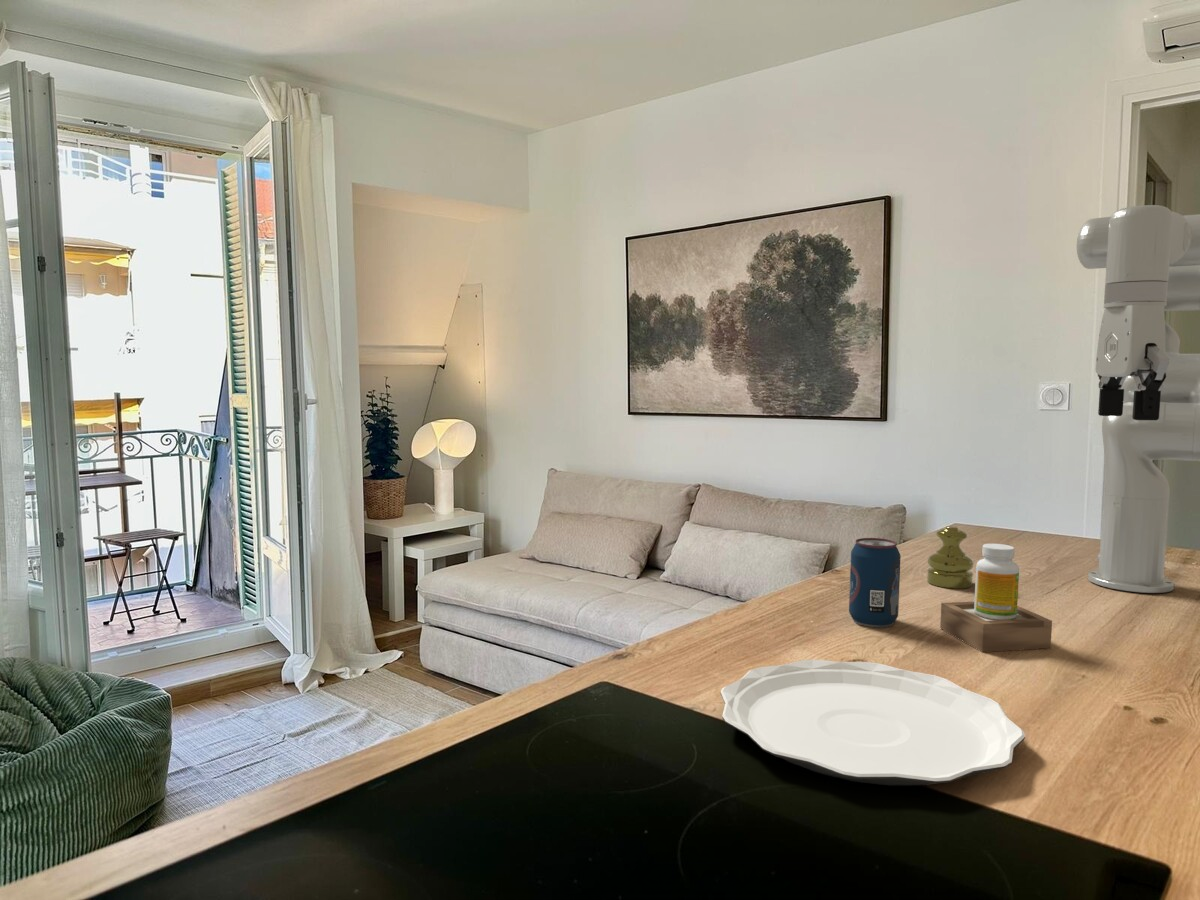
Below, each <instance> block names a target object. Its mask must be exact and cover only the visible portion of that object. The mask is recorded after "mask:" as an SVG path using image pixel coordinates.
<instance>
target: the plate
mask: <svg viewBox="0 0 1200 900" xmlns="http://www.w3.org/2000/svg"><path fill="white" fill-rule="evenodd" d="M720 696H721V698H722V700H723V702H724V707H723V712H722V715H721V717H722V720H723V721H724V723H725V724H726V725H728V726H730V727H731V728H734V729H736V730H737V731H739V732H741V733H742V734H745V735H746V736H747V737H749V738H750V739H751V741H753V742H754V743H755V745H757V746H758V747H759V748H760V749H761V750H762V751H763V752H766V753H768V754H770V755H773V756H774V757H777V758H780V759H783V760H785V761H786V762H788V763H790V764H792V765H796V766H798V767H801V768H804V769H806V770H809V771H811V772H813V773H818V774H821V775H825V776H829V777H833V778H838V779H842V780H847V781H849V782H855V783H865V784H873V785H882V786H898V787H899V786H902V787H903V786H929V785H934V784H936V785H937V784H945V783H946V784H947V783H951V782H953V781H956V780H959V779H963V778H968V777H972V776H976V775H980V774H984V773H985V774H986V773H988V772H995V771H997V770H1002V769H1005V768H1007V767H1009V766H1010V765H1012V761H1013V755H1014V750H1015V748H1016V747H1018V746H1019V744H1021V743H1022V742H1023V741H1025V739H1026V734H1025V731H1024V730H1023V729H1022V728H1021V727H1020V726H1018V725H1017V724H1016V723H1015V722H1013V720H1011V719H1010V718H1008V716H1007V714H1006V713H1005V711H1004V709H1003V707H1002V706H1001V704H1000V703H998V702H996V701H995V700H993V699H992V698H990V697H988V696H984V695H982V694H979V693H976V692H973V691H971V690H969V689H966V688H963V687H962V686H960V685H958V684H957V683H954V682H952V681H951V680H949V679H947V678H945V677H941V676H938V675H935V674H929V673H925V672H919V671H917V672H916V671H912V670H906V669H901V668H897V667H895V666H890V665H887V664H884V663H883V664H882V663H879V662H872V661H871V662H870V661H835V660H834V661H833V660H823V659H822V660H821V659H802V660H798V661H793V662H790V663H789V662H788V663H785V664H781V665H770V666H759V667H756V668H753V669H750V670H748V671H747V673H745V674H744V675H743V676H742V677H741V678H740V679H738V680H736V681H734V682H732V683H730V684H727V685H725V686H724V687H723V686H722V688H721V690H720Z"/></svg>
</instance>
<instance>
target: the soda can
mask: <svg viewBox="0 0 1200 900" xmlns="http://www.w3.org/2000/svg"><path fill="white" fill-rule="evenodd" d="M901 558H902V557H901V553H900V551H899V549H898V545H897V542H896V541H894V540H890V539H886V538H880V537H877V538H876V537H863V538H861V537H860V538H858V539H857V538H856V539H855V544H854V546H853V547H852V549H851V551H850V571H849V572H850V574H849V597H848V599H849V601H848V613H849V614H850V617H851V618H852V620H853V622H854V623H856V624H858V625H860V626H863V625H864V627H868V626H871V627H870V628H888V626H889V627H891V626H893V625H894V623H895V622H896V620H897V619H898V618H899V610H900V609H899V606H900V605H899V604H900V581H901V579H900V578H901ZM892 624H893V625H892Z"/></svg>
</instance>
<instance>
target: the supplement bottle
mask: <svg viewBox="0 0 1200 900" xmlns="http://www.w3.org/2000/svg"><path fill="white" fill-rule="evenodd" d="M1015 551H1016V550H1015V547H1014V546H1012V545H1008V544H1002V543H984V544H983V545H982V551H981V553H982V556H983V558H982V559H980V560H978V561H977V562H976V567H975V581H974V582H975V583H974V584H975V586H974V599H973V600H974V601H973V602H974V612H975V613H976V614H977V615H979V616H982V617H985V618H988V619H994V620H1011V619H1014V618H1016V616H1017V606H1018V599H1019V581H1020V578H1019V577H1020V568H1019V565H1018V564H1017V563H1016V562H1014V561H1013V559H1015Z"/></svg>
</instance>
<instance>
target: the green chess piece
mask: <svg viewBox="0 0 1200 900" xmlns="http://www.w3.org/2000/svg"><path fill="white" fill-rule="evenodd" d="M935 534H936V536H937V537H938V538H939V539H940V540H941V542H942V546H941V547H940V548H939V549H937V550H936V551H935V552H934V553H932V554H930V555H929V556H928V557H927V563H928V566H929V568H927V569H926V571H927V577H926V581H927V582H928V583H929V584H931V585H933V586H935V587H939V588H944V589H946V588H947V589H954V588H958V589H959V588H961V589H967V588H970V587H972V586H973V577H974V576H973V575H974V573H973V572H972V571H971V570H972V569H973V568H974V564H975V562H974V560H973V558H972V557H970V556H969V555H966V554H967V553H966V552H965V551H964V550H963V549H962V548H961V547H960V544H961V542H962V541H964V540H965V539H967V538H968V533H967V532H965V531H964V530H962V529H959V528H958V527H957V526H955V525H954V526H951V525H949V526H946V527H945V528H942V529H940V530H937V531H936V532H935ZM958 589H957V590H958Z"/></svg>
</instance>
